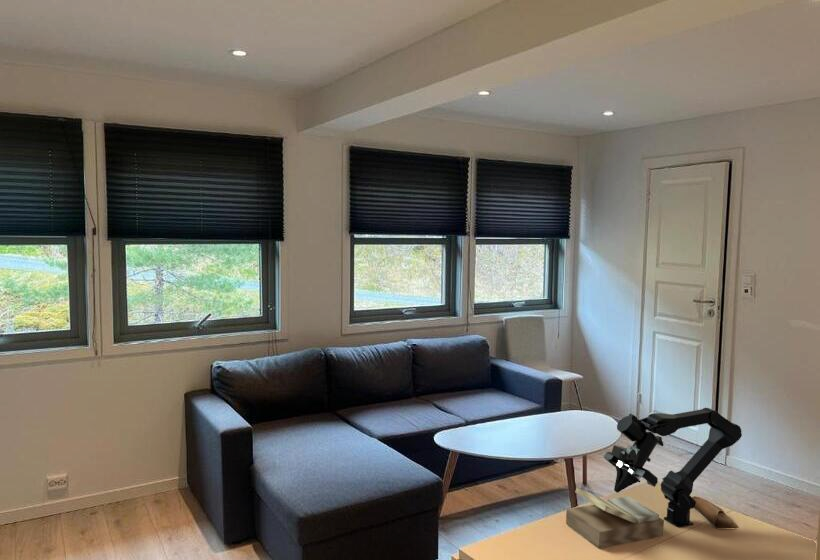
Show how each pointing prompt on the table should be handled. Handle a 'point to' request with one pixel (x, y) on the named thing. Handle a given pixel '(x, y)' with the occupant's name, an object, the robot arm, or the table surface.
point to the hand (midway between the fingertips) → (615, 491)
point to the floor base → (615, 523)
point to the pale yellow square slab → (606, 505)
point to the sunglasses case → (713, 513)
